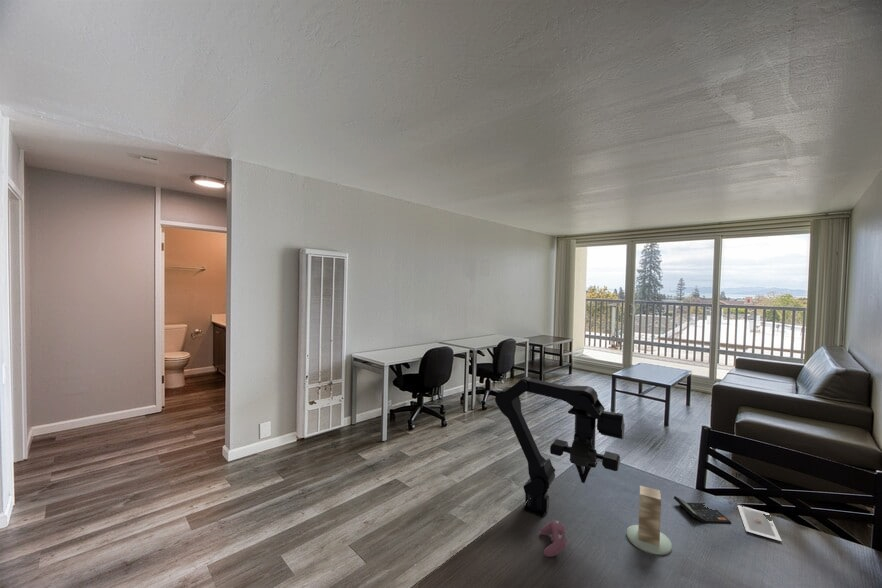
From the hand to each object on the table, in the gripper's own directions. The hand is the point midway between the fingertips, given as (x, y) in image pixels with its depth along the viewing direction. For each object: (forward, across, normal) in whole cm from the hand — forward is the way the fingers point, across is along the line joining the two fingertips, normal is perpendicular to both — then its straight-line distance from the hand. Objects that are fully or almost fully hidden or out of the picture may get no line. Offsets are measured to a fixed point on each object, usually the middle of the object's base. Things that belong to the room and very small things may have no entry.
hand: (583, 482), depth 108 cm
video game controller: (+13, -5, -14) cm, 20 cm away
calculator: (+14, +30, +28) cm, 43 cm away
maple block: (+12, +17, +4) cm, 21 cm away
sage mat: (+13, +17, +4) cm, 22 cm away
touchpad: (+14, +44, +32) cm, 56 cm away
